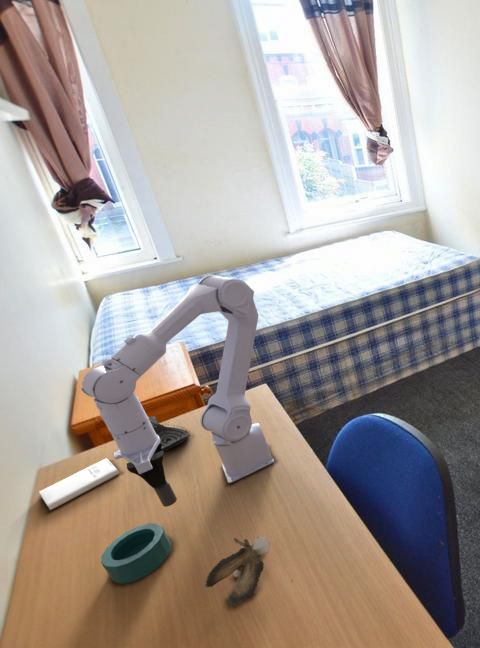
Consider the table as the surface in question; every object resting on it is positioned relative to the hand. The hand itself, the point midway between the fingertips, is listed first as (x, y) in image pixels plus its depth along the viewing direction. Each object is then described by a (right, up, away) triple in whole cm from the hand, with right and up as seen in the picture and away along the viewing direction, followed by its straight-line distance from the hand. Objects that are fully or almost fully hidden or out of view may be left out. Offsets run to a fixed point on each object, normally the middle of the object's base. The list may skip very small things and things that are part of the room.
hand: (159, 481), depth 92 cm
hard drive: (-28, -6, +14) cm, 33 cm away
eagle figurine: (+24, -12, -12) cm, 29 cm away
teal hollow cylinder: (+2, -12, -7) cm, 14 cm away
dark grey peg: (+1, -5, +2) cm, 5 cm away
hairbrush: (-21, +1, +29) cm, 36 cm away
